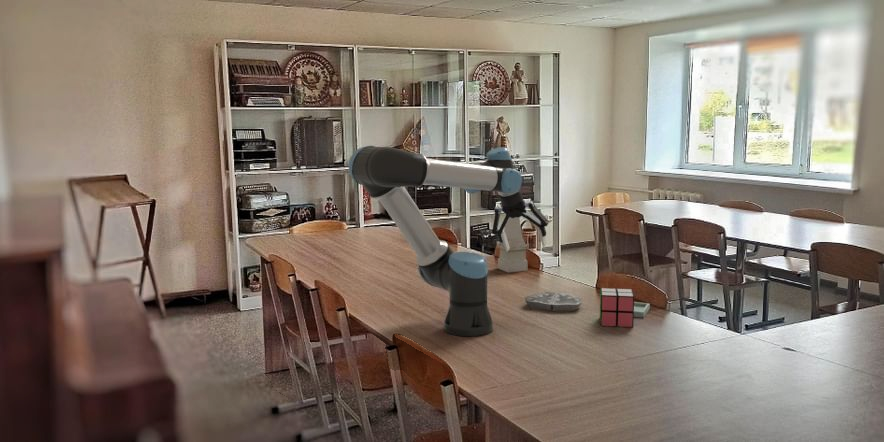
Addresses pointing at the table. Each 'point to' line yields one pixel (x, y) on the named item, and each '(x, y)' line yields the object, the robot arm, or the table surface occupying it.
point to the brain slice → (553, 301)
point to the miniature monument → (513, 248)
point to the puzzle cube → (616, 307)
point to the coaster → (640, 309)
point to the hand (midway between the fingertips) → (526, 247)
